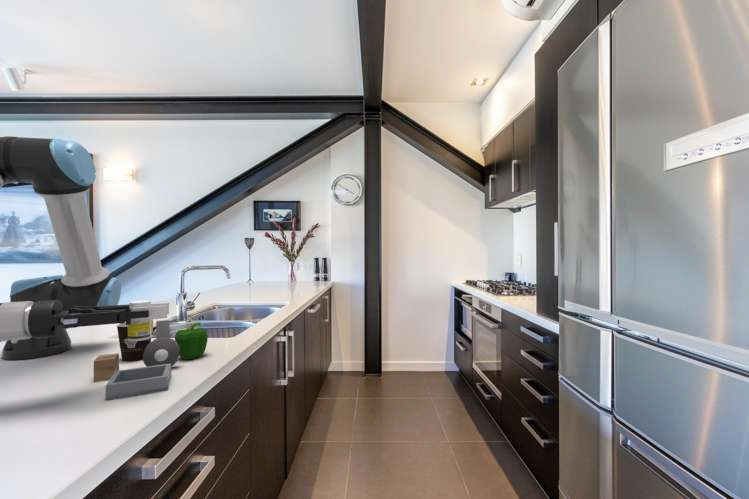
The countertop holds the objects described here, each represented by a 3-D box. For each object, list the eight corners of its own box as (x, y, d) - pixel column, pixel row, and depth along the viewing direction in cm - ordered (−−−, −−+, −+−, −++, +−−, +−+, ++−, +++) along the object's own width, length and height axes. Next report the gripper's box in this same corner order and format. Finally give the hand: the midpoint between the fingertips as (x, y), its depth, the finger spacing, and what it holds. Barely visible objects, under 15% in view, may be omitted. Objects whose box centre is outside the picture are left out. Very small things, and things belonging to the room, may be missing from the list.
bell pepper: (168, 362, 95) (167, 325, 95) (184, 353, 104) (183, 320, 104) (198, 361, 96) (198, 325, 96) (212, 352, 104) (212, 319, 104)
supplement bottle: (138, 336, 80) (137, 300, 80) (157, 336, 80) (157, 299, 80) (122, 341, 76) (121, 303, 76) (143, 341, 75) (142, 302, 75)
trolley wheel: (146, 366, 92) (145, 321, 92) (180, 362, 95) (180, 318, 95) (142, 373, 86) (142, 325, 86) (179, 368, 90) (178, 322, 90)
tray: (116, 383, 80) (116, 370, 80) (171, 375, 85) (171, 363, 85) (105, 400, 71) (105, 385, 71) (167, 390, 76) (167, 376, 76)
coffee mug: (109, 362, 96) (108, 326, 96) (134, 353, 104) (134, 320, 104) (146, 363, 94) (146, 327, 94) (169, 354, 103) (169, 320, 103)
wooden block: (99, 375, 86) (99, 355, 86) (119, 372, 88) (118, 353, 88) (93, 382, 81) (93, 361, 81) (114, 379, 83) (114, 358, 83)
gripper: (51, 329, 78) (171, 319, 88) (12, 349, 62) (164, 334, 72) (50, 296, 78) (170, 290, 88) (12, 307, 62) (164, 298, 72)
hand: (167, 310), depth 80 cm, fingers closed on supplement bottle, 5 cm apart
